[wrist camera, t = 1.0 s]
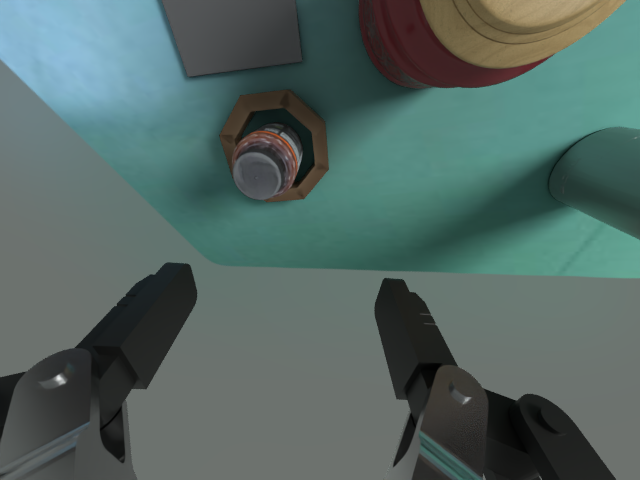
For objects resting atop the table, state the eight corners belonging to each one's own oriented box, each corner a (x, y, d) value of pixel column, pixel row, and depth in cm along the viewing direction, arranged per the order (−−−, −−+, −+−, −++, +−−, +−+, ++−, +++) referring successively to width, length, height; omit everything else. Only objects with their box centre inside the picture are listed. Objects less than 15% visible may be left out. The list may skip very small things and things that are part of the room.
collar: (322, 85, 24) (321, 85, 22) (330, 189, 31) (330, 196, 29) (217, 98, 25) (207, 99, 23) (246, 196, 32) (240, 204, 30)
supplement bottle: (267, 178, 30) (240, 219, 21) (246, 131, 27) (202, 153, 18) (310, 164, 29) (302, 200, 20) (293, 113, 26) (274, 127, 16)
